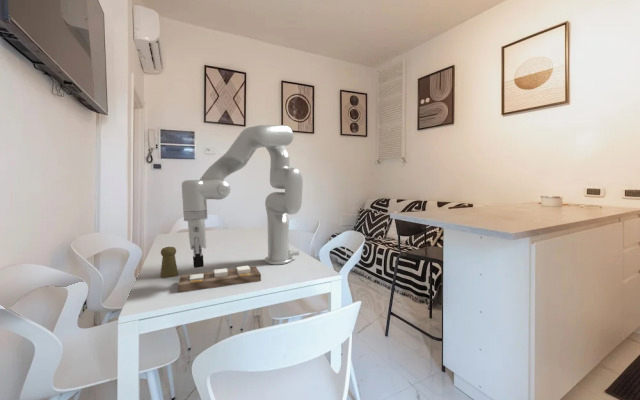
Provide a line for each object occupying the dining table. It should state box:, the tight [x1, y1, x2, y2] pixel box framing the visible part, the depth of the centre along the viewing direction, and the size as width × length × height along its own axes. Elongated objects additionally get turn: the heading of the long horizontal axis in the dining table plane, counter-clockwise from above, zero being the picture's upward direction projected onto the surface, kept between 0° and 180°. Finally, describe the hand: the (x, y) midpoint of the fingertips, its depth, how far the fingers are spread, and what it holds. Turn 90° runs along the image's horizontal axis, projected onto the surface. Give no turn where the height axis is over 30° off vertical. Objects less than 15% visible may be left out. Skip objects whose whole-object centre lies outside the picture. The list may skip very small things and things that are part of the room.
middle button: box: [213, 267, 228, 278], centre depth 99 cm, size 4×4×2 cm
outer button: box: [190, 272, 204, 281], centre depth 96 cm, size 4×4×2 cm
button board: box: [177, 265, 262, 293], centre depth 99 cm, size 27×10×3 cm, turn 114°
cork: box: [160, 246, 179, 279], centre depth 105 cm, size 6×6×11 cm
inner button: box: [236, 265, 251, 275], centre depth 102 cm, size 4×4×2 cm
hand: (198, 266), depth 96 cm, fingers closed
